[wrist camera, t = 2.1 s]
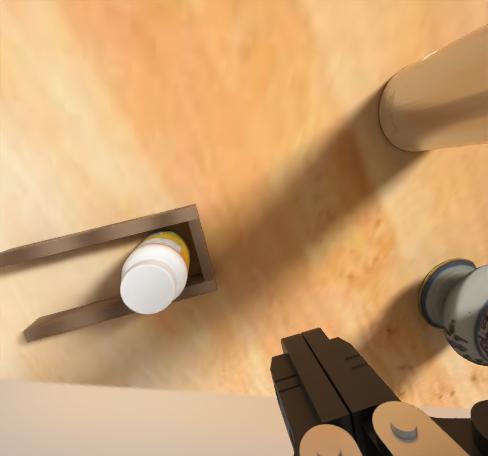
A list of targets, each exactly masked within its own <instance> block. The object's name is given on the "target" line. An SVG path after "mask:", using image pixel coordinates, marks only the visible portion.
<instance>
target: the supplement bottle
mask: <svg viewBox="0 0 488 456" xmlns="http://www.w3.org/2000/svg"><path fill="white" fill-rule="evenodd" d="M189 264H190V249H189V246H188V244H187V242H186V241H185V240H184V238H182V237H181V236H180V235H178V234H177V233H174V232H171V231H158V232H155V233H153V234H151V235H149V236H148V237H147V238H145V239H144V240H143V241H142V243H141V244H140V245H139V246H138V247H137V248H136V249H135V250H134V251H133V252H132V253H131V254H130V256H129V257H128V258H127V260H126V261H125V263H124V265H123V268H122V274H121V278H122V281H121V285H120V294H121V297H122V300H123V302H124V303H125V304H126V305H127V306H128V307H129V308H130V309H131V310H133V311H135V312H137V313H141V314H154V313H158V312H160V311H162V310H164V309H165V308H166V307H168V305H169V304H170V303H171V302H172V301H173V300H174V299H176V298H177V297H178V296H179V295H180V293H181V292H182V291H183V289H184V287H185V284H186V281H187V276H188V270H189Z"/></svg>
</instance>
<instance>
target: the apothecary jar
mask: <svg viewBox="0 0 488 456" xmlns="http://www.w3.org/2000/svg"><path fill="white" fill-rule="evenodd" d="M418 305H419V309H420V312H421V315H422V316H423V318H424V319H425V320H426V321H427V322H428V323H429V324H430V325H432V326H434V327H437V328H441V329H444V333H445V336H446V338H447V341H448V342H449V344H450V345H451V347H452V348H453V349H454V350H455V351H456V352H457V353H458V354H459V355H461V356H462V357H463V358H465V359H467V360H469V361H471V362H473V363H475V364H478V365H483V366H488V265H484V266H482V267H479V268H476V267H475V265H474V263H473V262H472V261H470V260H467V259H460V258H457V259H451V260H448V261H445V262H443V263H441V264H439V265H438V266H436V267H435V268H434V269H433V270H432V271H431V272H430V273H429V274H428V275H427V276H426V278H425V280H424V281H423V283H422V285H421V288H420V292H419V297H418Z"/></svg>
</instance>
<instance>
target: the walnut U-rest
mask: <svg viewBox="0 0 488 456" xmlns="http://www.w3.org/2000/svg"><path fill="white" fill-rule="evenodd" d="M186 221H188V223H189V227H190V231H191V234H192V238H193V241H194V245H195V249H196V252H197V256H198V259H199V263H200V267H201V270H202V274H200V275H197V276H193V277H189V278H187V281H186V284H185V287H184V289H183V291H182V292H181V293H180V295H179V296H178V297H177V298H176V299H174V300H173V301H172V302H175V301H179V300H182V299H186V298H190V297H193V296H197V295H200V294H204V293H208V292H211V291H215V290H217V285H216V279H215V275H214V272H213V268H212V264H211V260H210V257H209V253H208V249H207V245H206V242H205V238H204V234H203V231H202V227H201V223H200V219H199V216H198V212H197V208H196V204H194V205H190V206H186V207H182V208H177V209H173V210H169V211H165V212H161V213H157V214H153V215H149V216H144V217H140V218H136V219H132V220H128V221H124V222H120V223H116V224H111V225H107V226H103V227H99V228H95V229H91V230H87V231H83V232H78V233H74V234H70V235H66V236H62V237H58V238H54V239H50V240H45V241H41V242H37V243H33V244H29V245H25V246H21V247H16V248H12V249H9V250H6V251H3V252H1V253H0V267H5V266H9V265H13V264H17V263H21V262H25V261H29V260H33V259H37V258H41V257H45V256H49V255H53V254H57V253H61V252H65V251H69V250H73V249H77V248H81V247H85V246H89V245H93V244H97V243H101V242H105V241H109V240H114V239H118V238H122V237H126V236H130V235H134V234H138V233H142V232H146V231H150V230H154V229H158V228H162V227H166V226H170V225H174V224H178V223H182V222H186ZM131 313H135V311H133V310H131V309H130V308H129V307H128V306H127V305H126V304H125V303H124V302H123V300H122V297H121V296H118V297H115V298H111V299H107V300H103V301H100V302H96V303H92V304H88V305H85V306H81V307H77V308H73V309H70V310H66V311H62V312H59V313H55V314H51V315H47V316H44V317H40V318H38V319H37V320H36V321H35V322H34V323H33V324H31V325H30V326H29V327H28V328H27V329H26V330H24V333H25V336H26V338H27V340H28V342H30V341H33V340H37V339H41V338H44V337H48V336H52V335H55V334H59V333H63V332H66V331H70V330H73V329H77V328H81V327H84V326H88V325H92V324H95V323H99V322H102V321H106V320H110V319H113V318H117V317H121V316H124V315H128V314H131Z"/></svg>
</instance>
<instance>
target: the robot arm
mask: <svg viewBox="0 0 488 456" xmlns="http://www.w3.org/2000/svg"><path fill="white" fill-rule="evenodd" d="M379 118H380V123H381V127H382V130H383V132H384V134H385V136H386V137H387V139H388V140H389V141H390V142H391V143H392V144H393V145H394V146H396V147H398V148H399V149H401V150H405V151H425V150H433V149H442V148H452V147H461V146H469V145H478V144H486V143H488V24H486V25H484V26H482V27H480V28H479V29H477V30H475V31H473V32H471V33H469V34H467V35H466V36H464V37H462V38H460V39H458V40H456V41H454V42H452V43H451V44H449V45H447V46H445V47H443V48H441V49H439V50H438V51H435V52H434V53H432V54H430V55H428V56H426V57H424V58H422V59H420V60H419V61H417V62H415V63H413V64H411V65H409V66H407V67H406V68H404V69H402V70H401V71H399V72H398V73H397V74H395V75H394V76H393V78H392V79H391V80H390V81H389V82H388V84H387V86H386V87H385V89H384V91H383V94H382V97H381V101H380V107H379ZM281 344H282V348H283V353H284V354H282V355H278V356H275V357H272V362H271V368H270V370H271V374H272V379H273V383H274V387H275V391H276V395H277V400H278V404H279V406H280V410H281V413H282V416H283V419H284V422H285V425H286V428H287V431H288V434H289V437H290V440H291V443H292V446H293V449H294V456H488V400H484V401H480V402H478V403H476V404H475V405H474V406H473V407H472V409H471V418H468V419H467V418H459V419H458V418H453V419H452V418H434V417H429V416H428V415H427V414H425V413H424V412H423V411H422V410H420V409H419V408H417V407H415V406H413V405H411V404H408V403H404V402H401V401H400V400H399V399H398V397H397V396H396V395H395V394H394V393H393V392H392V391H391V389H390V388H389V387H388V386H387V385H386V384H385V383H384V381H383V380H382V379H381V378H380V377H379V376H378V375H377V373H376V372H375V371H374V370H373V369H372V368H371V367H370V365H368V364H367V362H366V361H365V360H364V359H363V357H362V356H360V354H359V353H358V352H357V351H356V349H355V348H354V347H353V346H352V345H351V344H350V343H348V342H346V341H344V340H342V339H341V338H339V337H337V338H333V339H330V340H329V339H328V337H327V336H326V335H325V333H324V332H323V331H322V329H321V328H316V329H312V330H309V331H306V332H302V333H301V334H296V335H293V336H289V337H286V338H283V339H281Z"/></svg>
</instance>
